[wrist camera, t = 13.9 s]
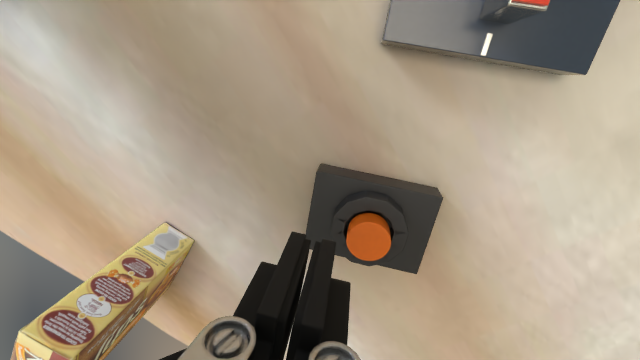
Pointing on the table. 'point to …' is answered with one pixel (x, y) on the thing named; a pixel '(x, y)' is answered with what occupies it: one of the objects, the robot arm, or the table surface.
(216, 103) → the table surface
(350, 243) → the button
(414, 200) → the button box
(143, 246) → the candy box
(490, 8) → the knob
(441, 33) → the console
